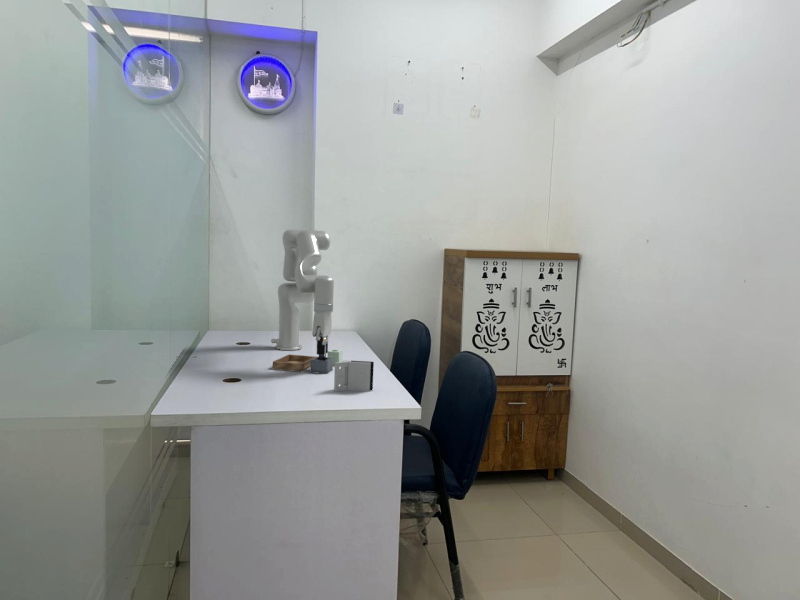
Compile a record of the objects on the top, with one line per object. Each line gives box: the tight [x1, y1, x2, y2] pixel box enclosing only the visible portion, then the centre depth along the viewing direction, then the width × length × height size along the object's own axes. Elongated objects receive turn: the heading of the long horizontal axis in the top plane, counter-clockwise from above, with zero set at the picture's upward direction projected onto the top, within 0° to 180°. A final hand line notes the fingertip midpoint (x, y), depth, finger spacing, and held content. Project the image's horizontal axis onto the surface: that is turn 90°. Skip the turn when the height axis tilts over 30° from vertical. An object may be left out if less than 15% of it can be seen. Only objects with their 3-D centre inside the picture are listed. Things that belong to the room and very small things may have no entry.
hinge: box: [333, 359, 375, 392], centre depth 200 cm, size 14×5×10 cm, turn 101°
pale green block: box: [327, 349, 344, 367], centre depth 240 cm, size 5×5×6 cm
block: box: [309, 356, 334, 374], centre depth 226 cm, size 7×7×5 cm
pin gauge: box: [318, 335, 327, 360], centre depth 226 cm, size 3×3×10 cm
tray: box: [272, 354, 316, 372], centre depth 233 cm, size 13×17×3 cm
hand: (322, 353), depth 226 cm, fingers closed on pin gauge, 2 cm apart
